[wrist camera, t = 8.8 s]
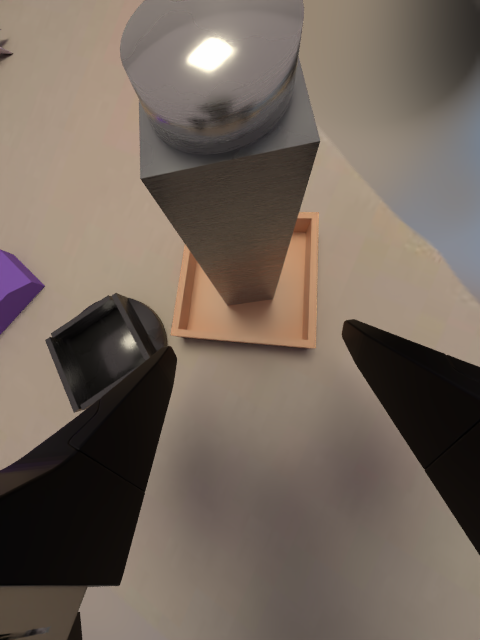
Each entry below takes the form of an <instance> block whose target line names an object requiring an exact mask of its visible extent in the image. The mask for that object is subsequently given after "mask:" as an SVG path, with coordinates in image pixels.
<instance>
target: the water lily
mask: <svg viewBox="0 0 480 640" xmlns="http://www.w3.org/2000/svg"><path fill="white" fill-rule="evenodd" d="M0 30H1V29H0ZM0 53H5V54H13V53H11V52H9V51H7V50H5V49H4V48H2V47H0Z"/></svg>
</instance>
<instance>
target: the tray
mask: <svg viewBox="0 0 480 640" xmlns="http://www.w3.org/2000/svg"><path fill="white" fill-rule="evenodd" d="M318 225H319V212H299V214H298V217H297V221H296V224H295V228H294V231H293V234H292V238H291V241H290V244H289V248H288V251H287V255H286V258H285V261H284V265H283V268H282V271H281V275H280V278H279V282H278V285H277V288H276V292H275V295H274V298H273V299H271V300H264V301H257V302H250V303H243V304H236V305H229V306H227V304H226V303H225V302H224V300H223V299H222V297H221V296H220V294H219V293H218V291H217V290H216V288H215V287H214V285H213V284H212V282H211V281H210V280H209V278H208V277H207V275H206V274H205V272H204V271H203V269H202V268H201V266H200V265H199V263H198V262H197V261H196V259H195V258H194V256H193V255H192V253H191V252H190V250H189V249H188V247H187V246H186V244H185V247H184V253H183V259H182V266H181V272H180V278H179V285H178V291H177V298H176V304H175V310H174V317H173V323H172V329H171V335H172V336H178V337H184V338H195V339H206V340H217V341H229V342H240V343H251V344H262V345H273V346H284V347H296V348H307V349H308V348H316V316H317V270H318Z"/></svg>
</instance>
